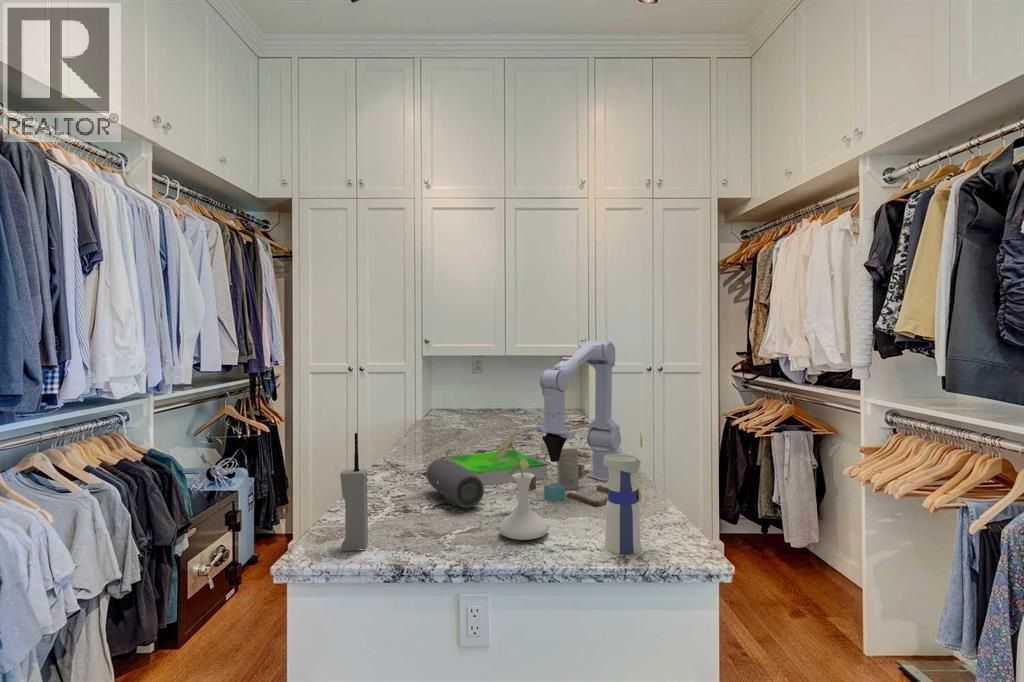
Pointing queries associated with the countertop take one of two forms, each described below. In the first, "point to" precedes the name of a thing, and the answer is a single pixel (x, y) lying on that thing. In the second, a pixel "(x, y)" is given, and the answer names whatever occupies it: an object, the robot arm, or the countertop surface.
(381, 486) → the countertop surface
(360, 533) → the vintage mobile phone
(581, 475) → the charcoal block
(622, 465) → the water bottle
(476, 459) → the tray
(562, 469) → the skincare box
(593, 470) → the robot arm
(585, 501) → the frame
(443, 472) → the bluetooth speaker
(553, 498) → the teal block
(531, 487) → the walnut block
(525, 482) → the flower in vase
